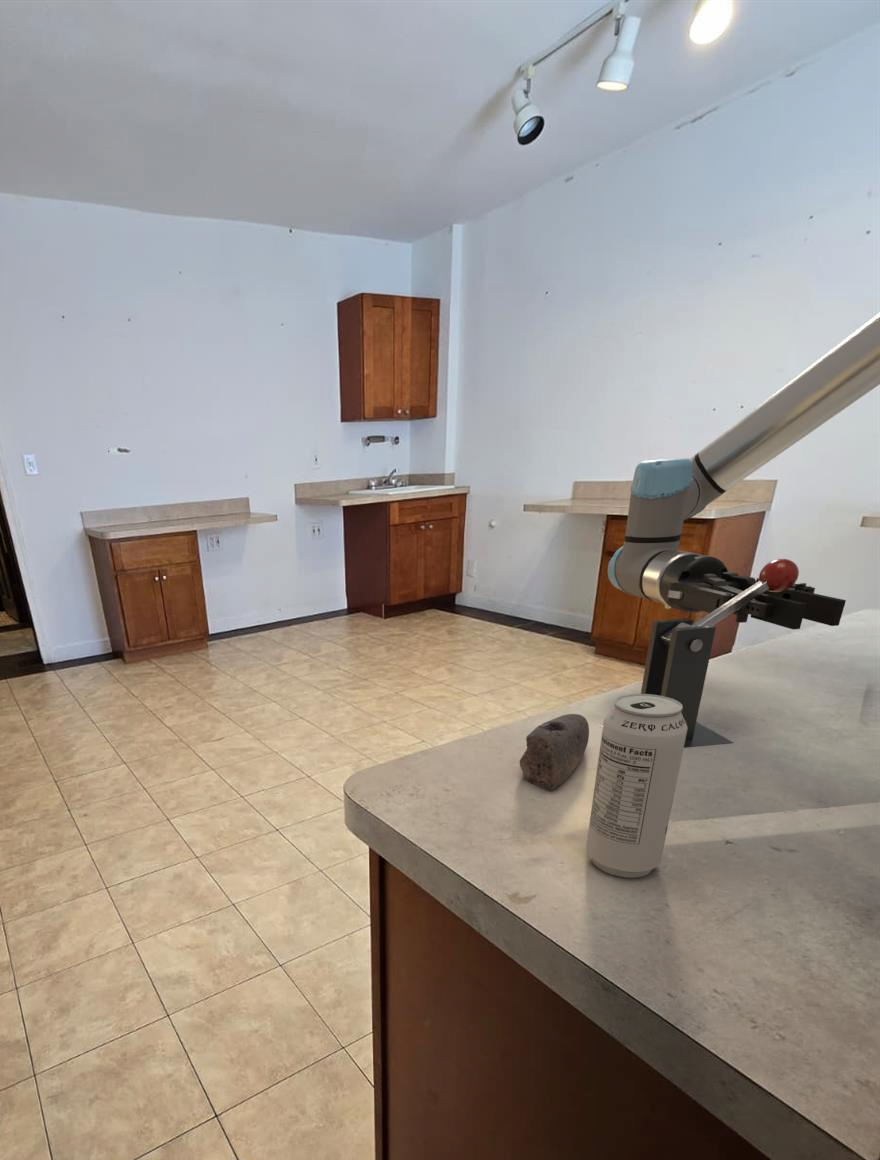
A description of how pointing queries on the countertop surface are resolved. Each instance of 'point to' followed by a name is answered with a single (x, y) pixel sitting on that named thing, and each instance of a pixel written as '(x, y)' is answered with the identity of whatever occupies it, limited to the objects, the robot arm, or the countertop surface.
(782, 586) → the red knob lever
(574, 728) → the perforated stone tool
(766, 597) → the robot arm
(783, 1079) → the countertop surface
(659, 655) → the bracket
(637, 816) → the energy drink can
